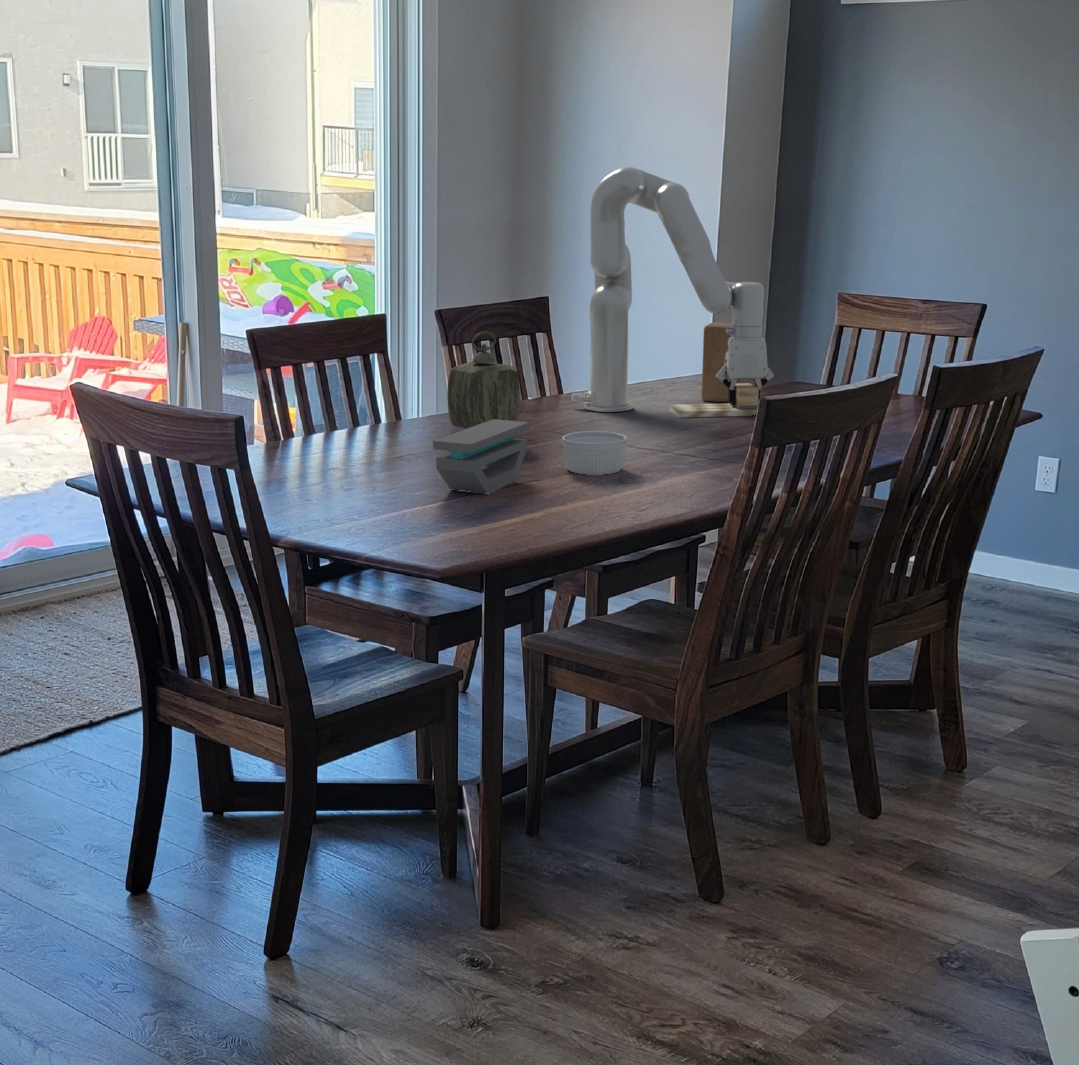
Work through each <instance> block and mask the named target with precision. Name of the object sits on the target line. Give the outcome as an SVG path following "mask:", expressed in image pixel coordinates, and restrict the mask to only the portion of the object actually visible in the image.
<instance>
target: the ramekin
mask: <svg viewBox="0 0 1079 1065" xmlns="http://www.w3.org/2000/svg"><path fill="white" fill-rule="evenodd" d="M561 444H562V445H563V456H564V462H565V467H566V469H567V470H569V472H570V471H571V472H570V473H572V472H575V473H574V474H576V473H579V474H578V475H581V474H586V475H585V476H605V475H604V474H609V475H612V474H611V473H614V474H616V473H615V472H617V473H619V472H620V471H621V469H622V468H623V466H624V462H625V457H626V456H625V455H626V446H627V444H628V437H627V436H626V435H625V434H622V433H618V432H613V431H605V430H604V431H602V430H600V431H599V430H594V431H593V430H591V431H590V430H588V431H587V430H586V431H575V432H571V433H566V434H564V435H563V436H562V437H561Z"/></svg>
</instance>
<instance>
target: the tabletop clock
mask: <svg viewBox="0 0 1079 1065" xmlns="http://www.w3.org/2000/svg"><path fill="white" fill-rule="evenodd" d="M482 335H489V336H491V338H493V343H492V344H491V345H489V346H487V344H486V343H483V344H481V347H477V345H475V340H476V339H477V338H478V337H479V336H482ZM496 338H497V337H496V335H495V333H493V332H491V331H487V330H485V331H482V330H481V331H480V332H477V333H476V334H475V335H474V336H473V337H472V340H471V345H472V348H473V349H474V350H476V351H479V352H477V353H476V354H475V355H474V357H473V358H472V361H471V362H466V363H461V364H458V365H456V366H454V367H453V368H451V369H450V371H449V376H448V380H447V396H446V397H447V410H448V417H449V421H450V423H451V425H452V426H454V427H457V428H462V429H464V430H465V429H468V428H470V427H473V426H476V425H479V424H482V423H484V422H487V421H490V420H493V419H497V420H509V421H518V419H519V415H520V405H521V404H520V402H521V399H520V398H521V394H520V392H521V391H520V377H519V374H518V373H519V372H518V371H517V369H515V366H511V365H509V364H502V363H496V362H497V361H496V358H495V357H494V355H493V354H492V353H491V352H488V351H489V350H491V349H493V348H494V347H495V345H496V342H497V339H496Z"/></svg>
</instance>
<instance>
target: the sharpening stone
mask: <svg viewBox="0 0 1079 1065" xmlns="http://www.w3.org/2000/svg"><path fill="white" fill-rule="evenodd" d="M529 430H530V422H529V421H518V420H517V421H509V420H497V419H493V420H490V421H487V422H484V423H482V424H479V425H476V426H473V427H470V428H468V429H465V428H464V429H462V430H460V431H457V432H454V433H451V434H449V435H445V436H443V437H440V438H437V439H435V440H432V449H433V450H439V451H447V453H444V454H442V455H439V456H437V457H436V458H435V460H436V462H435V463H436V464H435V465H436V466H435V467H436V470H437V472H438V473H439V475H440V476H441V478H442V480H444V483H445V484H446V485H447V487H448V488H449V490H450V489H453V490H465V491H471V492H477V493H491V492H492V491H494V490H497V489H499V488H501V487H503V486H505V485H508V484H510V483H511V482H514V481H516V479H517V476H518V474H519V472H520V469H521V466H522V464H523V462H524V458H525V456H526V454H527V450H528V449H527V448H528V446H527V445H528V442H527V441H528V440H527V439H526V438H525V439H522V438H515V436H517V435H519V434H522V433H524V432H527V431H529ZM514 483H515V482H514ZM510 485H511V484H510ZM508 486H509V485H508ZM501 489H502V488H501ZM499 490H500V489H499ZM497 491H498V490H497ZM477 493H476V494H477ZM491 494H492V493H491Z"/></svg>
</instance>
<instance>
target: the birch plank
mask: <svg viewBox="0 0 1079 1065" xmlns="http://www.w3.org/2000/svg"><path fill="white" fill-rule="evenodd" d="M669 411H670V412H672V413H673V414H674V415H675V416H676V417H678V418H702V417H703V418H711V417H713V418H714V417H715V418H716V417H718V418H719V417H746V416H747V417H751V416H752V415H753V414H754V416H753V417H755V414H756V411H757V408H753V409H738V408H736V407H735V406H732V405H730V403H729V402H727V403H692V404H691V403H690V404H669Z"/></svg>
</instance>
